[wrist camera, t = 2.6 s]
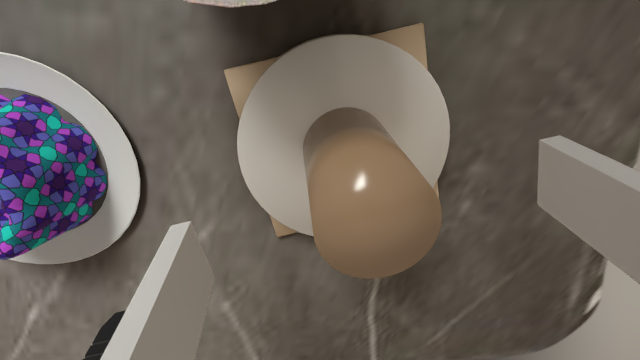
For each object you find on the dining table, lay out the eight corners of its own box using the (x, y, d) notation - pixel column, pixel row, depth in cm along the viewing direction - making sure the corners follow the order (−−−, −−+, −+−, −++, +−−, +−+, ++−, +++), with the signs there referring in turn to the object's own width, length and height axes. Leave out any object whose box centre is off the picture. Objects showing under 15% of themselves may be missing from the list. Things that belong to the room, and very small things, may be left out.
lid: (210, 62, 18) (155, 107, 10) (432, 10, 18) (546, 15, 10) (270, 245, 23) (264, 370, 15) (447, 204, 23) (533, 309, 15)
